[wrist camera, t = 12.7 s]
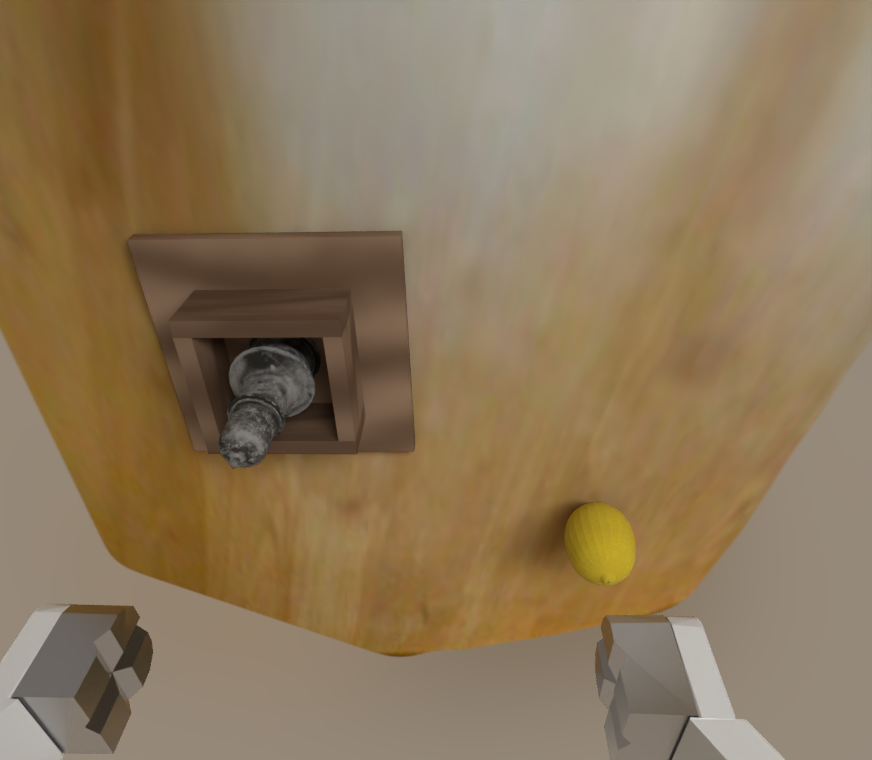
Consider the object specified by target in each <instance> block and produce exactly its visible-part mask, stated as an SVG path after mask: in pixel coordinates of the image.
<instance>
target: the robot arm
mask: <svg viewBox="0 0 872 760" xmlns="http://www.w3.org/2000/svg"><path fill="white" fill-rule="evenodd" d="M139 618H140V616H139V615H138V613H137V611H136V610H135V608H134V607H133V606H109V605H77V604H43V605H42V606H41V607H39V608H38V609H37V610H36V611H35V612H34V613H33V614H32V615H31V617H30V618H29V620H28V621H27V623H26V624H25V626H24V627H23V629H22V630H21V632H20V633H19V635H18V636H17V638H16V639H15V641H14V643H13V644H12V646H11V647H10V649H9V650H8V652H7V653H6V655H5V656H4V658H3V659H2V661H1V662H0V760H61V759H62V758H63V757H64V755H63V753H81V754H85V753H86V754H87V753H88V754H93V753H94V754H95V753H96V754H100V753H101V754H109V753H110V754H111V753H112V754H113V753H114V751H115V749H116V747H117V744H118V742H119V740H120V738H121V736H122V733H123V731H124V729H125V726H126V724H127V722H128V720H129V717H130V715H131V708H130V704H129V700H128V699H130V698H131V697H132V696H133V695H134V694H135V693H136V692H137V691H138V690H140V689H141V688H142V687H143V685H144V683H145V681H146V678H147V676H148V673H149V671H150V667H151V661H152V655H153V648H152V640H151V638H150V636H149V634H148V632H147V631H145V630H143V629H142V628H140V627H139V626H137V625H136V624H137V622H138V620H139ZM601 630H602V636H603V639H602V640H600V641H599V642H597V648H596V653H595V673H596V681H597V688H598V694H599V699H600V700H601V702H602V703H603V704H604V705H605V706H606V707H607V709H608V714H607V718H606V722H605V726H604V728H605V734H606V739H607V744H608V750H609V755H610V760H785V759H784V758H783V757H782V756H781V755H780V754H779V753H778V752H777V751H776V750H775V749H774V748H773V747H772V746H771V745H770V744H769V743H768V742H767V740H766V739H764V738H763V737H762V735H760V733H759V732H758V731H756V729H755V728H754V727H753V726H752V725H751V724H750V723H749V722H748V721H747V720H746V719H739V718H736V717H735V715H734V712H733V709H732V706H731V703H730V701H729V698H728V695H727V692H726V690H725V687H724V684H723V682H722V678H721V676H720V673H719V670H718V667H717V664H716V662H715V659H714V656H713V653H712V650H711V647H710V645H709V642H708V639H707V637H706V634H705V631H704V628H703V625H702V623H701V622H700V621H699V620H698V618H696V617H693V616H692V617H690V616H663V615H606V616H605V617H604V618H603V620H602V625H601Z"/></svg>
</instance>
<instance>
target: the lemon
mask: <svg viewBox="0 0 872 760" xmlns="http://www.w3.org/2000/svg"><path fill="white" fill-rule="evenodd" d="M564 540H565V546H566V551H567V554H568V557H569V559H570V561H571V563H572V565H573V567H574V568H575V570H576V571H577V573H578V574H579V575H580V576H582V577H583V578H584V579H585V580H587V581H589V582H591V583H593V584H597V585H602V586H607V585H613V584H616V583H618V582H620V581H622V580H623V579H625V578H626V577H627V576H628V574H629V573H630V572H631V570H632V568H633V566H634V563H635V555H636V544H635V538H634V535H633V531H632V528H631V526H630V524H629V522H628V521H627V519H626V518H625V517H624V515H623V514H622V513H621V512H620V511H619V510H617V509H616V508H614V507H613V506H611V505H608V504H606V503H601V502H591V503H586V504H584V505H582V506H580V507H578V508H577V509H576V510H575V511H574V512H573V513H572V514H571V515H570V517H569V519H568V521H567V523H566V528H565V534H564Z"/></svg>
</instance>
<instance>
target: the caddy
mask: <svg viewBox="0 0 872 760" xmlns="http://www.w3.org/2000/svg"><path fill="white" fill-rule="evenodd" d="M127 243H128V246H129V250H130V253H131V256H132V259H133V262H134V265H135V268H136V271H137V274H138V277H139V280H140V283H141V286H142V289H143V293H144V296H145V299H146V302H147V305H148V308H149V311H150V314H151V317H152V320H153V323H154V326H155V329H156V332H157V336H158V339H159V342H160V345H161V348H162V351H163V354H164V357H165V360H166V363H167V366H168V369H169V372H170V375H171V379H172V382H173V385H174V388H175V391H176V394H177V397H178V400H179V403H180V406H181V409H182V412H183V415H184V418H185V422H186V425H187V428H188V431H189V434H190V437H191V440H192V443H193V446H194V449H195V451H208V453H209V454H221V453H220V451H219V448H218V442H219V437H220V435H221V433H222V431H223V429H224V428H225V426H226V424H227V422H228V420H229V419H228V415H227V410H228V406H229V405H230V403H231V402H232V400H234V399H235V398H236V396H235V394H234V393H233V391H232V388H231V386H230V383H229V371H230V366H231V364H232V363H233V361H234V359H235V358H236V357H237V356H238V355H239V354H241V353H242V352H243V351H245V350H247V349H248V347H249V343H250V341H251V339H252V338H297V337H310V338H311V339H312V340H313V341H314V342H315V344H316V346H317V347H318V349H319V352H320V356H321V365H320V368H319V371H318V373H317V374H316V376H315V377H314V381H315V394H314V397H313V400H312V402H311V403H310V405H309V406H308V407H307V408H306V409H305V410H304V411H302V412H301V413H299V414H297V415H294V416H291V417H285V425H284V429H283V430H282V432H281V433H280V434H279V435H278V436H276V437H275V438H273V439H272V442H271V444H270V447H269V449H268V452H267V454H357V453H358V451H381V452H414V450H415V433H414V417H413V401H412V385H411V369H410V353H409V337H408V320H407V304H406V288H405V272H404V256H403V240H402V231H367V232H296V233H224V234H152V235H132V236H131V237H130V238H129V239H127Z"/></svg>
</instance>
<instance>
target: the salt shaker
mask: <svg viewBox="0 0 872 760" xmlns="http://www.w3.org/2000/svg"><path fill="white" fill-rule="evenodd" d="M320 365H321V356H320V352H319V349H318V347H317V346H316V344H315V342H314V341H313V340H312V339H311V338H310V337H297V338H252V339H251V341H250V343H249V347H248V349H247V350H245V351H243V352H242V353H241V354H239V355H238V356H237V357H236V358H235V359H234V361H233V363H232V364H231V366H230V371H229V383H230V386H231V388H232V391H233V393H234V394H235V396H236V398H235V399H234V400H232V402H231V403H230V405H229V406H228V410H227V415H228V419H229V420H228V422H227V424H226V426H225V428H224V429H223V431H222V433H221V435H220V437H219V442H218V448H219V451H220V453H221V455H222V456H223V458H224V459H225V460H226V461H227V462H229V464H230V465H231V467H232V468H233V469H234V468H238V467H244V468H246V467H252V466H255V465H257V464H259V463H260V462H261V461H262V460H263V459H264V458H265V456H266V454H267V452H268V449H269V447H270V444H271V442H272V439H273V438H275V437H276V436H278V435H279V434H280V433H281V432H282V430H283V429H284V425H285V417H291V416H294V415H297V414H299V413H301V412H302V411H304V410H305V409H306V408H307V407H308V406H309V405H310V403H311V402H312V400H313V397H314V394H315V381H314V377H315V376H316V374H317V373H318V371H319V368H320Z"/></svg>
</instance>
